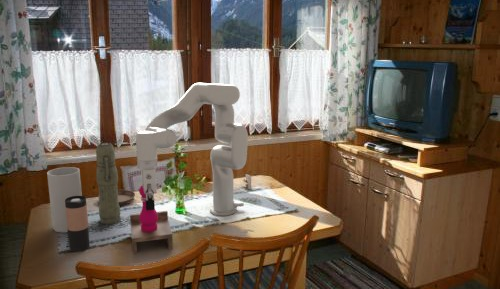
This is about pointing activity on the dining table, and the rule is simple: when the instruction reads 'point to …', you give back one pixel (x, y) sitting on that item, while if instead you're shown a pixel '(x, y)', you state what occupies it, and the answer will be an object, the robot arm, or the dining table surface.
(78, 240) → the travel mug
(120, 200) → the plant saucer
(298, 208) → the dining table surface
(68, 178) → the cylinder vase
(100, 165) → the stone totem statue
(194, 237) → the dining table surface
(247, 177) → the architectural model
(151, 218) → the pepper mill
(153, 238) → the walnut shelf
